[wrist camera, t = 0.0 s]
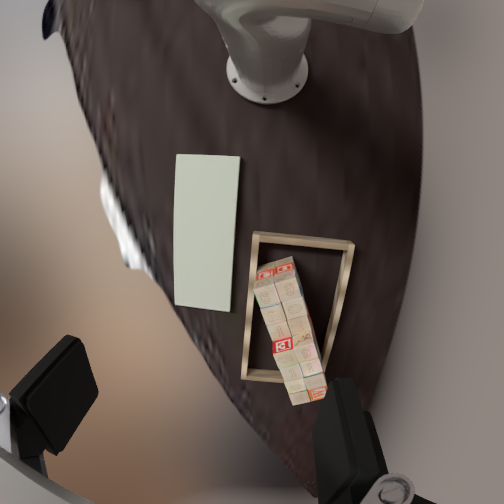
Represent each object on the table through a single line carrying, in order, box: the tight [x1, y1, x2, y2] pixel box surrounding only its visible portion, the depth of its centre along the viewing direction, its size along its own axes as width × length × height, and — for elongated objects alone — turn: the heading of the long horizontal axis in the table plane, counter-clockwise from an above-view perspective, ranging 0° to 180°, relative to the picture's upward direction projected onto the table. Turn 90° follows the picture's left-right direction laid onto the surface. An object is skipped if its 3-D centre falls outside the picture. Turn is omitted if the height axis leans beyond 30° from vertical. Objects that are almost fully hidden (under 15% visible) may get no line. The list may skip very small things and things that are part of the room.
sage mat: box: [174, 154, 240, 312], centre depth 45 cm, size 26×10×1 cm, turn 175°
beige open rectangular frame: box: [241, 231, 355, 383], centre depth 48 cm, size 29×16×2 cm, turn 175°
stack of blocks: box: [253, 256, 327, 405], centre depth 43 cm, size 21×6×12 cm, turn 18°
